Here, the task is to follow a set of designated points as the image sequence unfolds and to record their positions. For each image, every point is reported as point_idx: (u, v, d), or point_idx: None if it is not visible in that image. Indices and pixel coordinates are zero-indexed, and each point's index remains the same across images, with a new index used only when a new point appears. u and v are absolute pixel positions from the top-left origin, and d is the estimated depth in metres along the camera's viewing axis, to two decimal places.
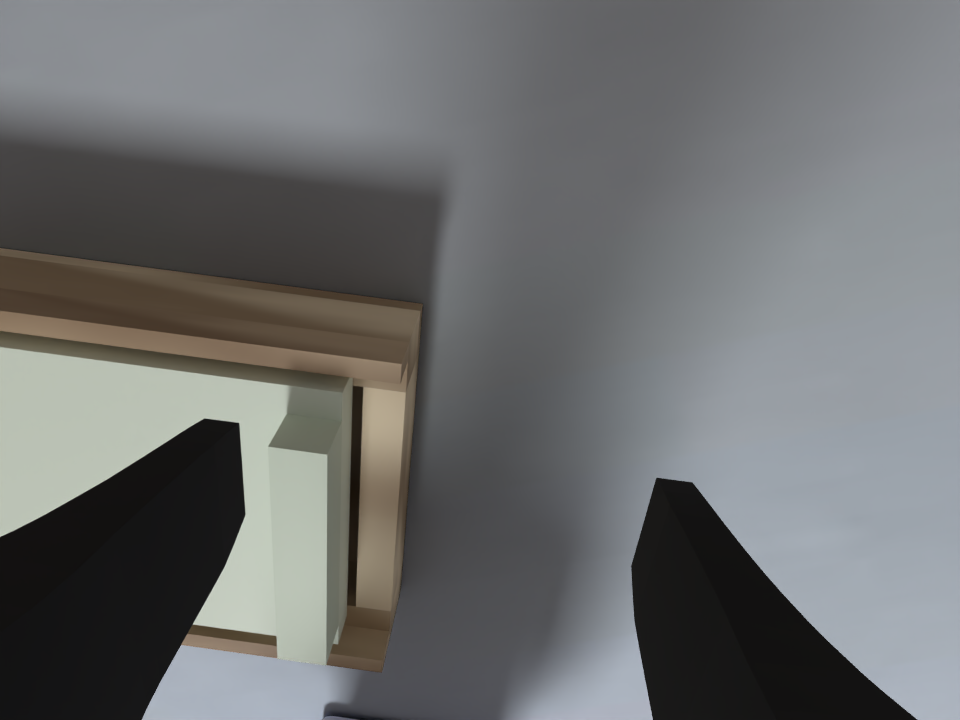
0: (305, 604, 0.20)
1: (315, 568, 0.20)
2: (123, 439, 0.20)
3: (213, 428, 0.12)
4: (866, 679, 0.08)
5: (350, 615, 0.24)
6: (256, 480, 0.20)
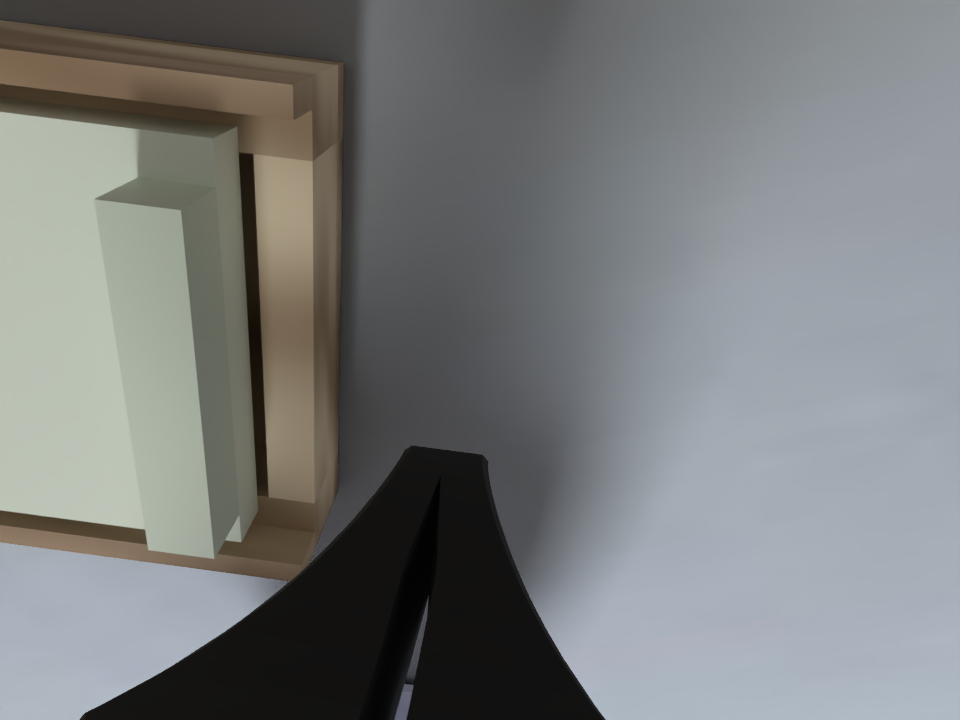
0: (177, 463, 0.15)
1: (184, 405, 0.14)
2: None
3: (427, 456, 0.11)
4: (544, 635, 0.08)
5: (262, 510, 0.19)
6: (107, 290, 0.15)
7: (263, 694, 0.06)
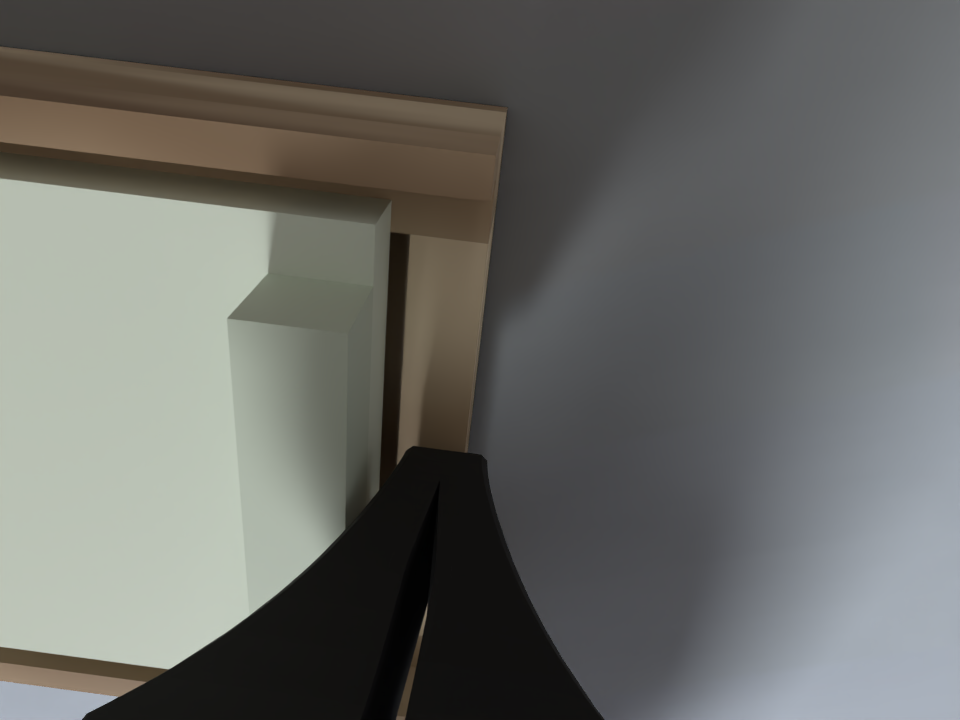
0: None
1: None
2: None
3: (428, 456, 0.11)
4: (543, 635, 0.08)
5: None
6: (216, 409, 0.11)
7: (265, 694, 0.06)
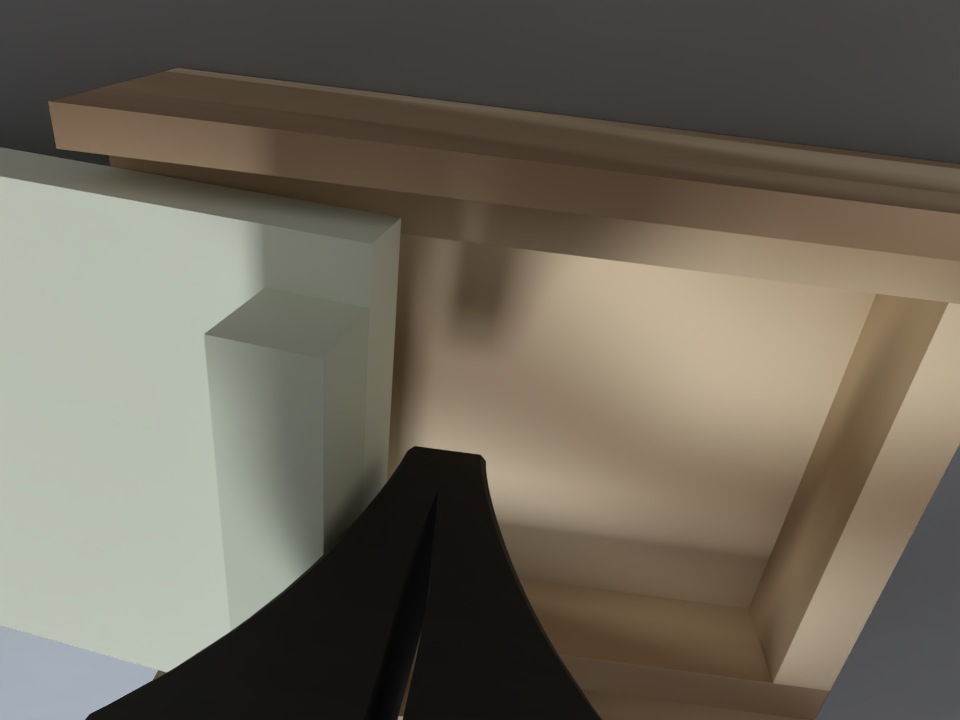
0: None
1: None
2: None
3: (430, 456, 0.11)
4: (541, 635, 0.08)
5: (758, 696, 0.15)
6: None
7: (267, 695, 0.06)
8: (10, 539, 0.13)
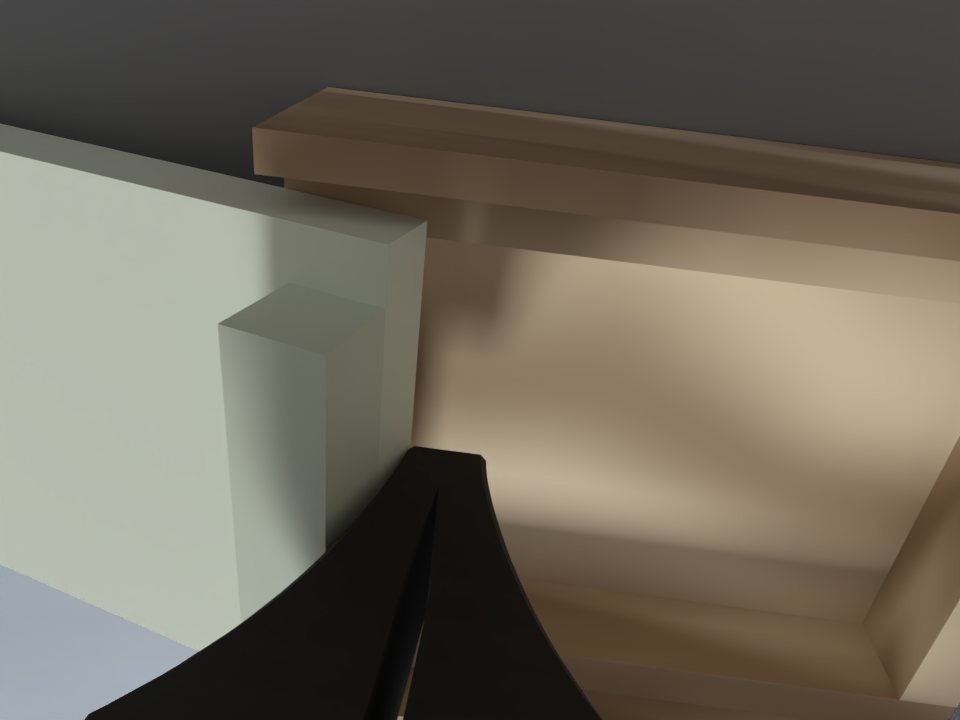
0: None
1: None
2: (49, 307, 0.12)
3: (429, 456, 0.11)
4: (542, 635, 0.08)
5: (882, 713, 0.15)
6: None
7: (266, 695, 0.06)
8: (61, 507, 0.14)
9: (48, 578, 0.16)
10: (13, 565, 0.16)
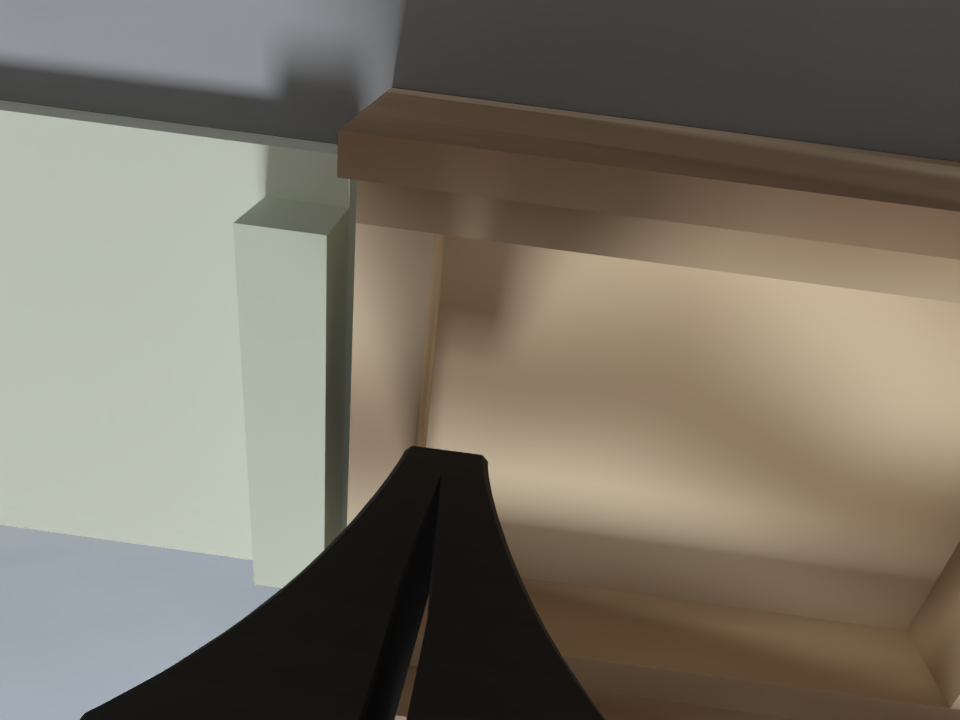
0: (295, 496, 0.14)
1: (308, 438, 0.13)
2: (24, 247, 0.13)
3: (427, 455, 0.11)
4: (544, 635, 0.08)
5: None
6: (222, 313, 0.14)
7: (263, 693, 0.06)
8: (30, 441, 0.16)
9: (12, 519, 0.17)
10: None
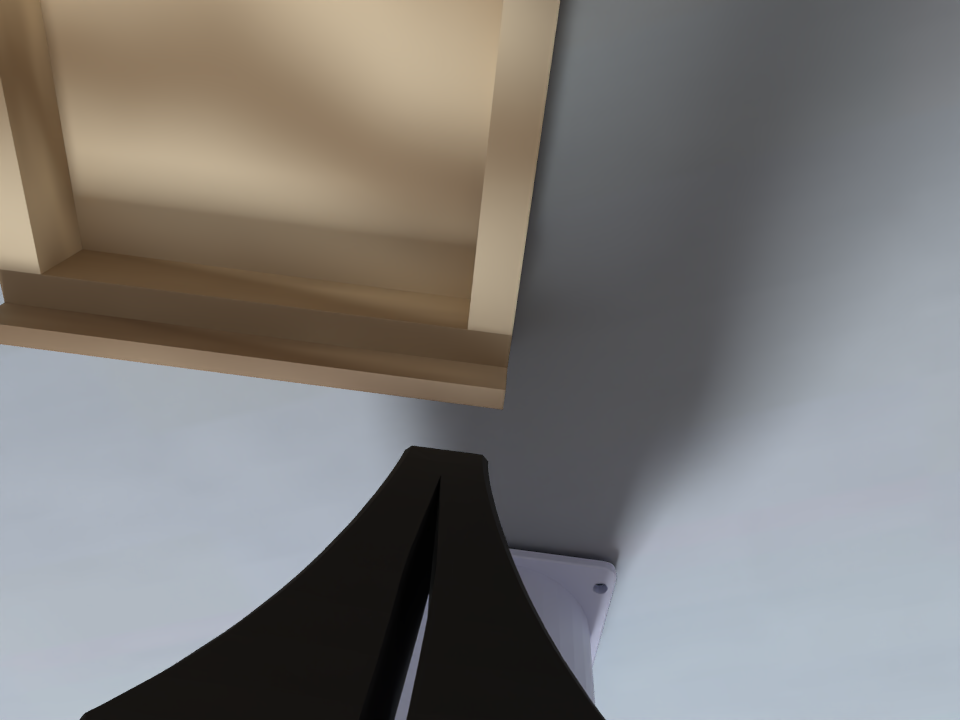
0: None
1: None
2: None
3: (427, 456, 0.11)
4: (544, 635, 0.08)
5: (459, 344, 0.19)
6: None
7: (263, 695, 0.06)
8: None
9: None
10: None
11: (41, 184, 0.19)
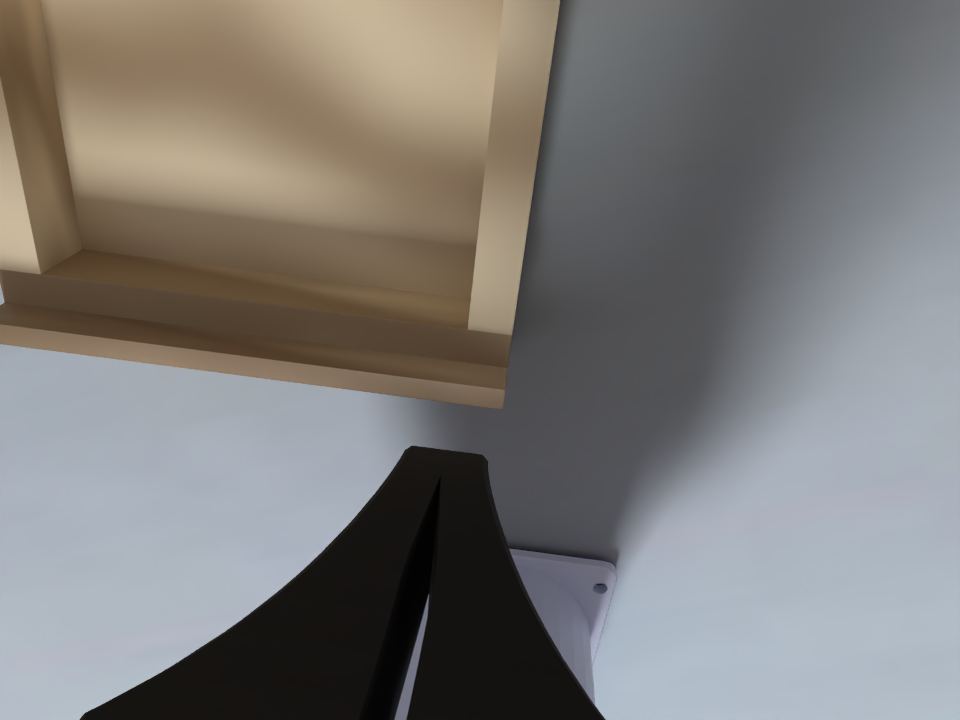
0: None
1: None
2: None
3: (427, 456, 0.11)
4: (544, 635, 0.08)
5: (459, 344, 0.19)
6: None
7: (263, 695, 0.06)
8: None
9: None
10: None
11: (41, 184, 0.19)
